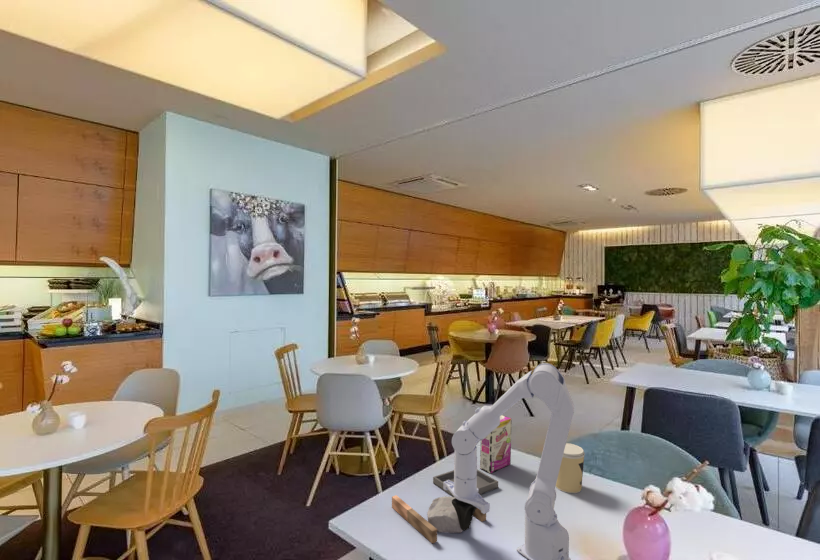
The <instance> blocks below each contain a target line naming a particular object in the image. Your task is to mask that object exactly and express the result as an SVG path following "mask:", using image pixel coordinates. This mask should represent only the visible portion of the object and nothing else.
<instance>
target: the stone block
mask: <svg viewBox="0 0 820 560" xmlns="http://www.w3.org/2000/svg"><path fill="white" fill-rule="evenodd" d="M453 499H455V498H454V497H452V496H445V495H444V496H440V497H437V498H434V499H433V500H432V501H431V504H430V505H429V507H428V511H427V512H426V513H427V514H426V515H427V521H428V522H429V523H430V524H431V525H433V526H434V527H435V528H436V529H437V532H439V533H451V534H461V533H462V532H464V531H463V530H462V529H461V528H460V524H459V520H458V516H457V513H456V510H455V508H454V506H453V504H452V500H453Z"/></svg>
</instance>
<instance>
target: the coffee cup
mask: <svg viewBox="0 0 820 560" xmlns="http://www.w3.org/2000/svg"><path fill="white" fill-rule="evenodd" d="M584 462H585V451H584V449H583V447H581V446H579V445H577V444H574V443H570V442H569V443H568V442H566V445H565V449H564V453H563V457H562V462H561V466H560V470H559V474H558V478H557V482H556V487H555V488H556V489H558V490H559V491H560V492H561V491H562V492H564V493H568V494H577V493H580V492H581V491H582V487H583V478H584V477H583V476H584V475H583V474H584V466H585V465H584Z"/></svg>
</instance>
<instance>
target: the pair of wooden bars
mask: <svg viewBox="0 0 820 560" xmlns="http://www.w3.org/2000/svg"><path fill="white" fill-rule="evenodd" d="M391 509H393V511H396V512H397V514H399V516H401V517H402V518H403V519H404V520H405V521H406V522H408V523H409V524H410V525H411V526H412V527H413V528H414V529H415V530H416V531H418V532H419V533H420V534H421V535H422V536H423V537H424V538H425V539H426V540H427V541H429V542H430V543H431V544H435V543H437V542H438V531H437V529H436V528H435V527H434V526H433V525H431V524H430V523H429V522H428V519H427V520H426V518H425V517H424V516H422V515H420V514H419V512H417V511H416V510H415V509H413V508H412V507H411V506H410V505H409V504H408V503H406V502H405V500H403V499H402V498H400V497H399V496H398V495H397V494H395V495H393V496H391ZM473 517H474V518H476V519H477V520H479V521H480V522H482V523H483V522H485V521H486V520H487V513H485V514H483V513H481V510H480V509H478V508H476V510H475V512H474V514H473Z"/></svg>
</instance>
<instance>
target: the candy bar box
mask: <svg viewBox="0 0 820 560" xmlns="http://www.w3.org/2000/svg"><path fill="white" fill-rule="evenodd" d="M512 420H513V419H512V418H511V417H509V416H505V415H504V414H503V415H501V416H500V425H499V426H498V427H497V428H495V429H494V430H493V431H492V432H491V433H490V434H489V435H488V436H486V437H485V438H484V439H483V440H482V441H480V451H479V452H480V455H479V457H480V458H479V468H480V469H481V470H482V471H485V472H486V473H489V474H493V473H494V472H497V471H499V470H501V469H504V468H506V467H507V466H510V465H511V463H512V462H511V460H512V456H511V455H512V425H513V424H512Z"/></svg>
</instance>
